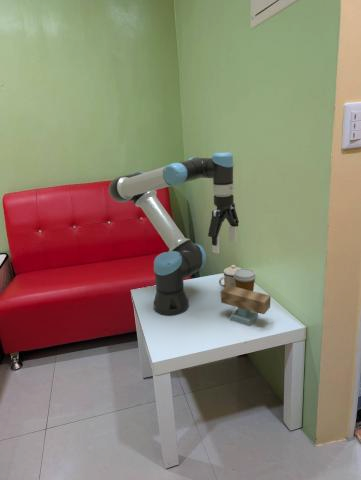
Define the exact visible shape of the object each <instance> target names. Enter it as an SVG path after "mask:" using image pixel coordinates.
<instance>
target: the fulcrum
mask: <svg viewBox="0 0 361 480" xmlns="http://www.w3.org/2000/svg"><path fill="white" fill-rule="evenodd" d="M258 317H259V313H257V312H253V311H250V310H246V309H242V308H239V307H237V309H236V310H235V311H234V312H233V313H231V314H230V321H233V322H237V323H239V324H242V325H247V326H248V327H249V326H250V325H252V323H253V322H255V320H256V319H257V318H258Z"/></svg>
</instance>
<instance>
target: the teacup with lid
mask: <svg viewBox="0 0 361 480" xmlns="http://www.w3.org/2000/svg"><path fill="white" fill-rule="evenodd" d="M239 269H242V268H241V267H239V266H238V267H237V266H236V265H235V264H232V265H230V266H229V267H226V268H224V270H223V276H221V277H220V278H219V280H218V284H219V286H221V287H223V289H224V288H225V287H227V286H228V285H229V286H234V287H236V282H235V278H234V274H235V271H236V270H239ZM222 280H223V284H222Z"/></svg>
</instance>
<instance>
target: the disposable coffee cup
mask: <svg viewBox="0 0 361 480" xmlns="http://www.w3.org/2000/svg"><path fill="white" fill-rule="evenodd" d="M234 278H235V282H236V287H238V288H242V289H246V290H250V291H254V287H255V280H256V278H257V274H256V272H255V271H254V270H253V269H251V268H241V269H239V270H236V271H235V274H234Z"/></svg>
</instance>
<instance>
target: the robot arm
mask: <svg viewBox="0 0 361 480" xmlns="http://www.w3.org/2000/svg"><path fill="white" fill-rule="evenodd" d="M233 159H234V157H233V153H231V152H227V151H225V152H215V153H213V154H212V157H199V156H197V157H190V158H188V159H187V160H185V161H179V162H172V163H170V164H168V165H166V166H165V165H164V166H162V167H159V168H156V169H153V170H150V171H147V172H146V171H145V172H144V171H142V172H135V173H130V174H127V175H121V176H118V177H115V178H114V179H113V180H111V181H110V182H109V185H108V193H109V195H110V198H112V199H113V200H114V201H115V202H117V203H128V202H132V203H133V204H134V205H135V207H137V208H140V209H142V211H143V213H144V214H145V216H146V217H147V218H148V220H149V222H150V223H151V224H152V225H153V228H154V229H155V230H156V231H157V234H159V235H160V237H161V239H162V240H163V242H164V243H165V245H166V246H167V248H168V249H169V250H168V251H167V252H166V251H163V252H161V253H159V254H158V255H157V256H155V258H154V260H153V271H154V280H155V291H156V292H155V295H154V300H153V309H154V311H155V312H156V313H157V314H159V315H163V316H176V315H180V314H183V313H184V312H186V311H187V310H188V309H189V307H190V300H189V297H188V296H187V292H186V291H185V289H184V280H185V279H186V278H188V277H190V276H192V275H193V274H195V273H197V272H199V271H200V270H201V269H203V268H204V267H205V265H206V261H207V253H206V251H205V249H204V248H203V246H202V245H200V244H198V243H193V241H192V240H191V239H190V238H186V237H185V236H184V234H183V233H182V231H181V230H180V228H179V227H178V226H177V225H176V222H175V221H174V220H173V218H172V217H171V215H170V214H169V213H168V211H167V210H166V209H165V208H164V206H163V205H162V203H161V202H160V200H159V198H158V197H157V193H158V192H157V190H160V189H164V188H168V187H172V186H178V185H181V184H184V183H188V182H192V181H194V180H195V181H196V180H199V179H212V182H213V184H212V185H213V186H212V187H213V189H212V190H213V192H212V193H213V205H214V206H216V210H212V211H211V219H210V223H209V224H210V225H209V228H208V233H207V237H210V238H211V248H212V250H211V251H212V253H214V254H220V236H219V233H220V231H221V227H222V224H223V222H224V221H225V220H226V221H227V223H228V224H229V225H228V237H229V238H228V240H229V242H230V243H237V229H236V228H237V227H239V222H240V221H239V217H238V213H237V210H236V204H235V203H234V200H235V199H234V189H235V187H234V160H233Z"/></svg>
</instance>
